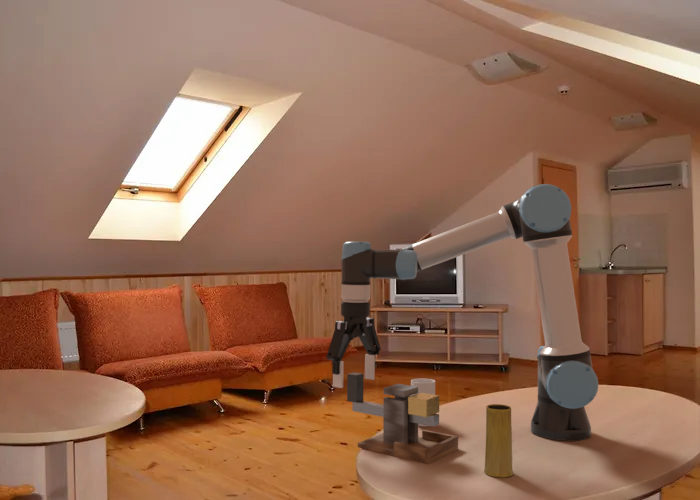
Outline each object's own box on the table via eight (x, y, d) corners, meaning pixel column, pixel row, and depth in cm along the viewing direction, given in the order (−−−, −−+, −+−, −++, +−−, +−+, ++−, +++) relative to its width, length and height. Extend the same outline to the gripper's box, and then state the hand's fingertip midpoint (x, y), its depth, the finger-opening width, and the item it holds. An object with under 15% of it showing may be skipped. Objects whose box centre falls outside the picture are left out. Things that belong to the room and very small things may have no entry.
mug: (432, 428, 173) (432, 383, 173) (408, 425, 175) (408, 382, 175) (439, 419, 182) (439, 377, 182) (416, 417, 184) (416, 375, 184)
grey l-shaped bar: (439, 424, 151) (439, 384, 151) (433, 426, 149) (433, 386, 149) (354, 408, 167) (354, 372, 167) (347, 410, 164) (347, 373, 164)
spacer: (439, 412, 153) (439, 395, 153) (426, 417, 148) (426, 400, 148) (421, 409, 156) (421, 392, 156) (408, 413, 151) (408, 397, 151)
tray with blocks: (458, 448, 154) (458, 388, 154) (428, 463, 143) (429, 399, 143) (389, 434, 166) (389, 378, 166) (357, 447, 155) (357, 387, 155)
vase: (480, 468, 140) (480, 403, 140) (507, 468, 141) (507, 403, 141) (489, 478, 134) (489, 410, 134) (517, 477, 134) (517, 410, 135)
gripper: (371, 297, 177) (370, 374, 177) (313, 302, 157) (311, 388, 157) (394, 299, 172) (392, 377, 172) (336, 304, 152) (335, 393, 152)
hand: (354, 383), depth 165 cm, fingers open, 13 cm apart
